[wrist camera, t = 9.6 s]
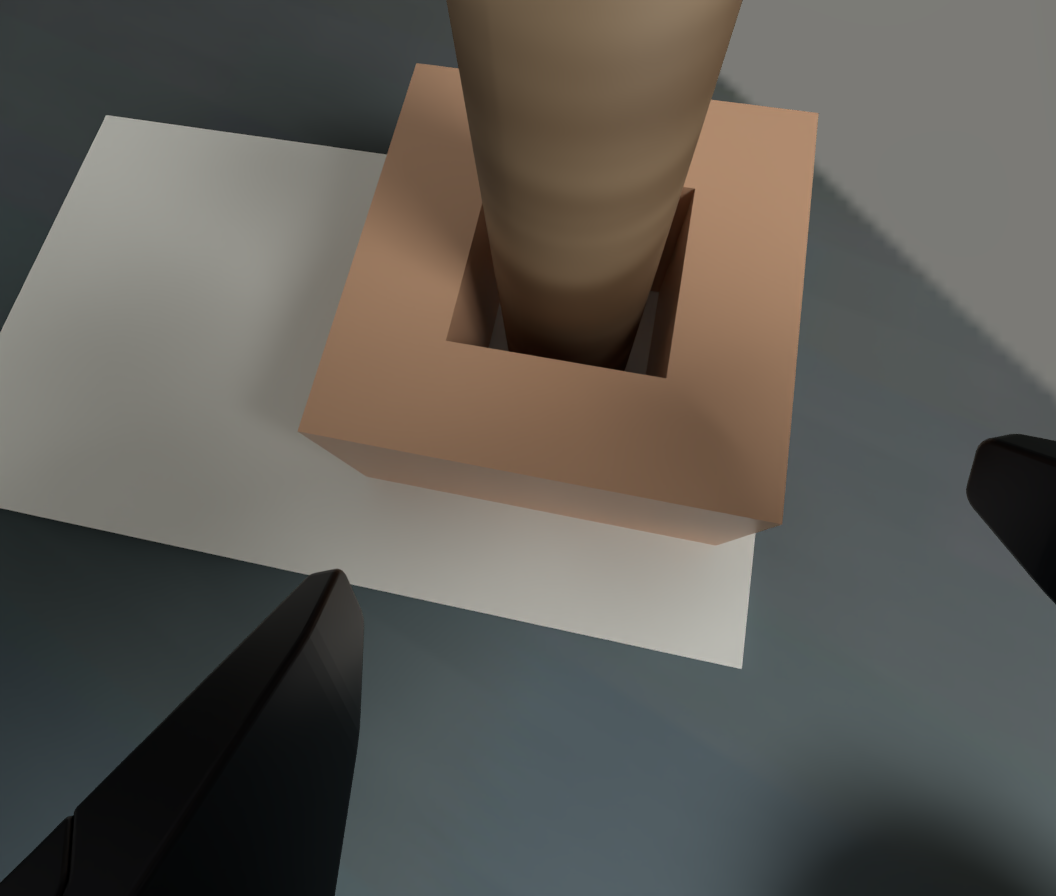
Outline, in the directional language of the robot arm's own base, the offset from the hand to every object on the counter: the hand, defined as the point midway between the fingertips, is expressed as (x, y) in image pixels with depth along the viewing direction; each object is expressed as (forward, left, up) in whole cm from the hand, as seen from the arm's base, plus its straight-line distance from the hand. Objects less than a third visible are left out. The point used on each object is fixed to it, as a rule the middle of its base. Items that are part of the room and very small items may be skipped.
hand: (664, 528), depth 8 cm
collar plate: (+5, +8, -8) cm, 13 cm away
